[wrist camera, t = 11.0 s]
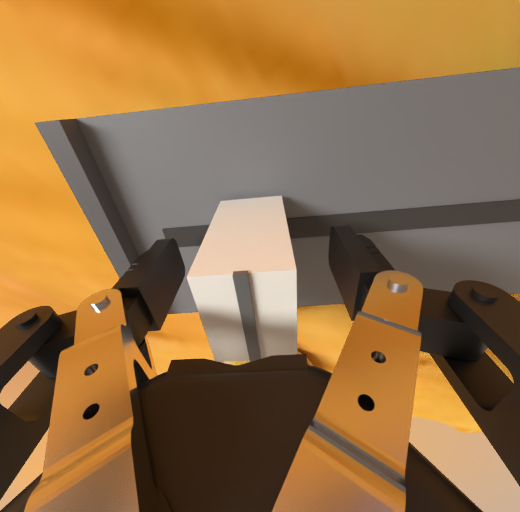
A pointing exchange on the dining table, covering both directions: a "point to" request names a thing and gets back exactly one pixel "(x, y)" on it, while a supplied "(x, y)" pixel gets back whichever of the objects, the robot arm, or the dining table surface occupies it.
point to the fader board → (316, 176)
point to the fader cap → (247, 281)
